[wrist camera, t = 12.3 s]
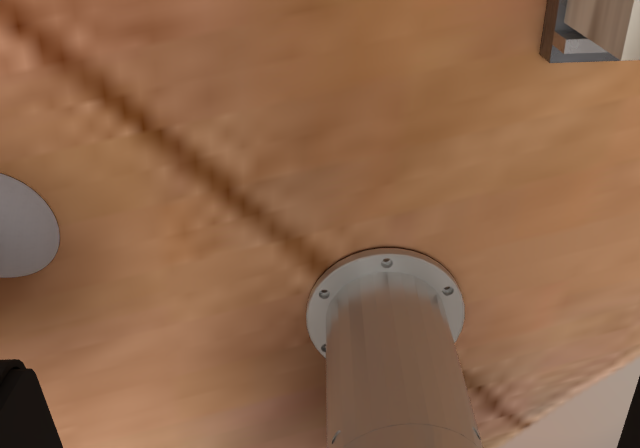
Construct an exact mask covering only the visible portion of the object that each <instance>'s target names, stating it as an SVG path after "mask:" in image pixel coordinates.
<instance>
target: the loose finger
mask: <svg viewBox="0 0 640 448" xmlns="http://www.w3.org/2000/svg"><path fill="white" fill-rule="evenodd" d="M564 23H565V24H567V25H568V26H570V27H571V28H573V29H574V30H576V31H577V32H579V33H580V34H582V35H583V36H585V37H586V38H588V39H589V40H591V41H592V42H594V43H595V44H597V45H598V46H600V47H601V48H603V49H604V50H606V51H607V52H609V53H610V54H612V55H613V56H615V57H616V58H618V59H619V60H621V61H624V60H640V0H567V6H566V12H565V18H564Z"/></svg>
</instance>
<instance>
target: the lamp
mask: <svg viewBox="0 0 640 448" xmlns="http://www.w3.org/2000/svg"><path fill="white" fill-rule="evenodd" d="M59 241H60V234H59V227H58V224H57V221H56V218H55V216H54V214H53V212H52V211H51V209H50V208H49V206H48V205H47V203H46V202H45V201H44V200H43V199H42V198H41V197H40V196H39V195H38V194H37V193H36V192H35V191H34V190H32V189H31V188H30V187H28V186H27V185H25V184H24V183H22V182H20V181H18V180H16V179H14V178H12V177H9V176H6V175H4V174H0V277H1V278H11V277H20V276H26V275H30V274H33V273H36V272H38V271H39V270H41V269H43V268H44V267H46V266H47V265H48V264H49V263H50V262H51V261H52V260H53V258H54V257H55V255H56V253H57V250H58V247H59Z"/></svg>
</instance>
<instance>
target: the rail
mask: <svg viewBox="0 0 640 448" xmlns="http://www.w3.org/2000/svg"><path fill="white" fill-rule="evenodd" d="M566 6H567V0H547V6H546V13H545V20H544V27H543V33H542V40H541V47H540V55H541V56H542V57H543V58H544V59H546V60H547V61H548V62H549V63H564V62H594V61H621V60H619V59H618V58H616V57H615V56H613V55H612V54H610V53H609V52H607V51H606V50H604V49H603V48H601V47H600V46H598V45H597V44H595V43H594V42H592V41H591V40H589V39H588V38H586V37H585V36H583V35H582V34H580V33H579V32H577V31H576V30H574V29H573V28H571V27H570V26H568V25H567V24H565V23H564V18H565V12H566Z"/></svg>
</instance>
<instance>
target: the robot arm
mask: <svg viewBox="0 0 640 448" xmlns="http://www.w3.org/2000/svg"><path fill="white" fill-rule="evenodd" d="M386 258H387V259H386ZM464 319H465V306H464V302H463V298H462V294H461V292H460V289H459V287H458V284H457V282H456V281H455V279H454V278H453V276H452V275H451V274H450V272H449V271H448V270H446V269H445V268H444V267H443V266H442V265H441V264H440V263H438V262H437V261H435V260H433V259H431V258H430V257H428V256H426V255H423V254H420V253H417V252H415V251H411V250H405V249H399V248H379V249H372V250H366V251H363V252H360V253H356V254H353V255H351V256H349V257H347V258H345V259H343V260H341V261H339V262H337V263H336V264H335V265H333V266H332V267H331V268H329V269H328V270H327V271H326V272H325V273H324V274H323V275H322V276H321V277H320V278H319V279H318V281H317V282H316V284H315V286H314V287H313V289H312V291H311V293H310V296H309V299H308V302H307V312H306V321H307V330H308V333H309V336H310V339H311V341H312V342H313V344H314V346H315V347H316V349H317V350H318V351H319V352H320V353H321V355H322V356H323V357H324V358H325V359H326V425H327V448H483V446H482V442H481V438H480V435H479V431H478V427H477V424H476V420H475V417H474V413H473V409H472V406H471V402H470V398H469V395H468V391H467V388H466V384H465V380H464V377H463V373H462V369H461V366H460V362H459V358H458V355H457V351H456V348H455V344H454V343H455V342H456V341H457V339H458V337H459V334H460V332H461V330H462V327H463V323H464ZM0 448H63V446H62V443H61V441H60V438H59V435H58V433H57V430H56V427H55V424H54V422H53V419H52V416H51V414H50V411H49V408H48V406H47V403H46V400H45V397H44V395H43V392H42V389H41V387H40V384H39V381H38V379H37V376H36V374H35V372H34V371H33V370H32V369H26V367H25V366H24V364H23V362H21V361H20V360H16V359H12V360H0ZM617 448H640V377H639V380H638V384H637V387H636V390H635V393H634V396H633V399H632V402H631V405H630V408H629V412H628V415H627V418H626V421H625V425H624V427H623V430H622V434H621V437H620V440H619V443H618V446H617Z"/></svg>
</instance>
